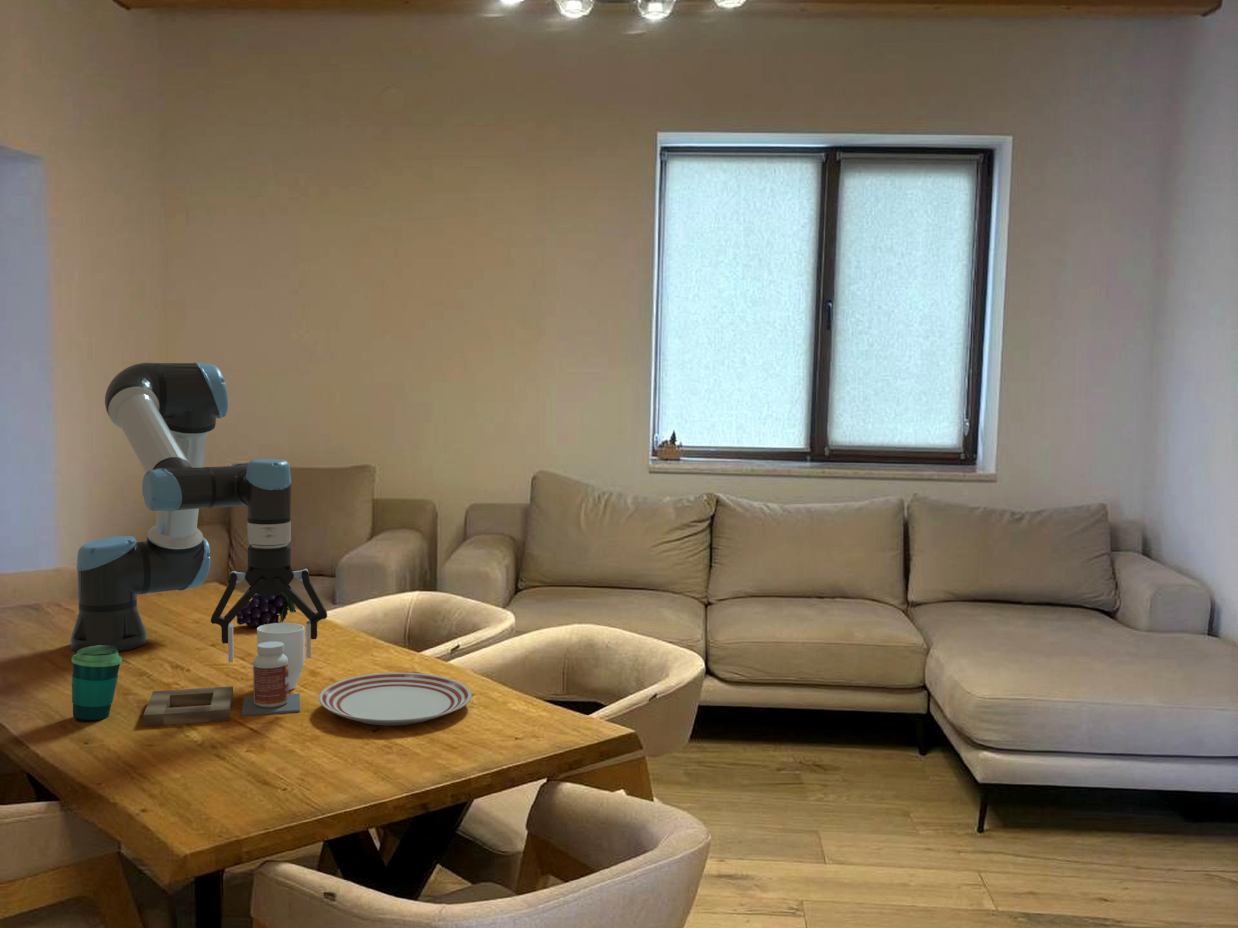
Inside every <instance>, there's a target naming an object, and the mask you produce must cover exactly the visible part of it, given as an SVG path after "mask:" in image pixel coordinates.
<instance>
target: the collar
mask: <svg viewBox="0 0 1238 928" xmlns="http://www.w3.org/2000/svg"><path fill="white" fill-rule="evenodd" d="M233 700H234V685H232V686H216V687H201V688H200V687H198V688H197V687H196V688H184V689H169V690H168V689H167V690H152V693H151V696H150V699H149V700H148V703H147V706H146V707H145V710H144V713H143V715H142V717H143V718H142V719H143V722H142V724H143V725H142V726H143V727H156V726H157V727H158V726H171V725H182V724H185V725H186V724H197V723H198V724H199V723H212V722H213V723H214V722H226V721H227V722H228V721H230V717H231V712H232V707H233ZM207 704H208V705H207ZM209 704H210V705H209ZM191 705H192V706H191ZM195 705H196V706H195ZM174 706H175V707H174ZM176 706H179V707H176Z"/></svg>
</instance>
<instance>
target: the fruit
mask: <svg viewBox="0 0 1238 928" xmlns="http://www.w3.org/2000/svg"><path fill="white" fill-rule="evenodd" d="M288 611H289V612H290V613H291V614H294V613H297V609H296V605H295V604H294V603H293V602H292V601H291V600H290V599H289V598H288V597H287V596H286V595H285V594H284V593H281V594H279V596H273V595H267V596H261V595H258V594H257V593H256V594H255V595H254V596H253V598H252V599H250V600H249V602H248V603H247V604H246V605H245V606H244V607H243V608H242V610H241V611H240V612H239V613H238V614H237V615H236V616H235V617H236V624H238V625H240V626H242V625H246V626H247V627H248V628H249V627H251V628H252V627H253V626H254V627H256V626H262V625H266V624H273V623H284V621H285V620H286V619H287V616H288Z"/></svg>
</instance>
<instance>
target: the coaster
mask: <svg viewBox="0 0 1238 928" xmlns="http://www.w3.org/2000/svg"><path fill="white" fill-rule="evenodd" d="M300 696H301V695H300V693H289V700H288V702H287V703H286V704H284V705H281V706H278V707H271V708H267V707H259V706H257V705H255V704H254V695H253V696H244V697H243V702H242V707H241V717H247V716H260V715H261V716H263V715H264V716H265V715H274V714H276V715H279V714H291V713H300V712H301V709H300V708H301V706H300V705H301V701H300V699H301V698H300Z"/></svg>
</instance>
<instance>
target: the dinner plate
mask: <svg viewBox="0 0 1238 928" xmlns="http://www.w3.org/2000/svg"><path fill="white" fill-rule="evenodd" d="M471 699H472V692H471V689H469V688H468V686H467V685H465V684H464V683H461V682H460V681H458V680H455V679H452V678H449V677H446V676H441V675H435V674H430V673H421V672H419V673H417V672H402V671H401V672H398V671H397V672H377V673H370V674H362V675H358V676H351V677H348V678H345V679H342V680H339V681H337V682H334V683H332V684H330V685H328V686H326V687H325V688H323V689H322V690H321V692H320V694H319V695H318V702H319V703H320V705H321V706H322V707H323V708H324V709H326V710H327V711H329V712H331V713H333V714H335V715H337V716H339V717H342V718H345V719H348V720H351V721H356V722H358V723H362V724H367V725H373V726H388V727H389V726H405V725H412V724H413V725H414V724H418V723H424V722H426V721H430V720H434V719H437V718H440V717H443V716H446V715H448V714H450V713H453V712H455V711H457V710H460V709H462V708H464V707H465V706H466V705H467V704H468V703H470V701H471Z"/></svg>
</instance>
